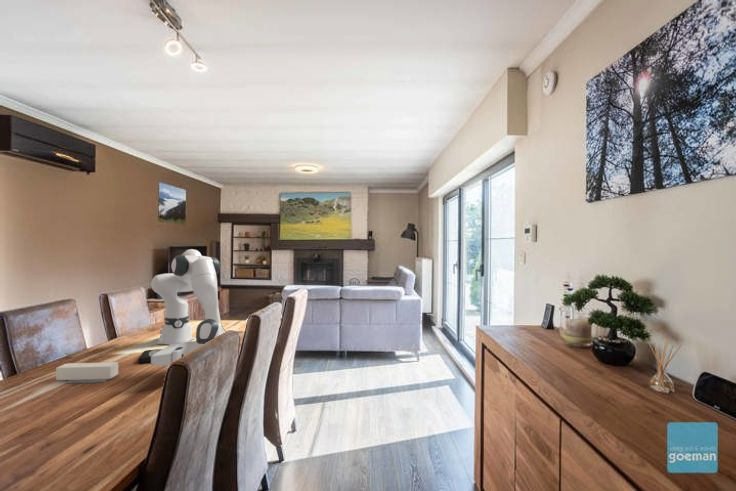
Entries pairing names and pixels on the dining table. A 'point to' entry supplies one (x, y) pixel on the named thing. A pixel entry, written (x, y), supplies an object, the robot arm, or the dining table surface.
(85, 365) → the cream block
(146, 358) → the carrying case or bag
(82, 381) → the slate mat
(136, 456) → the dining table surface
